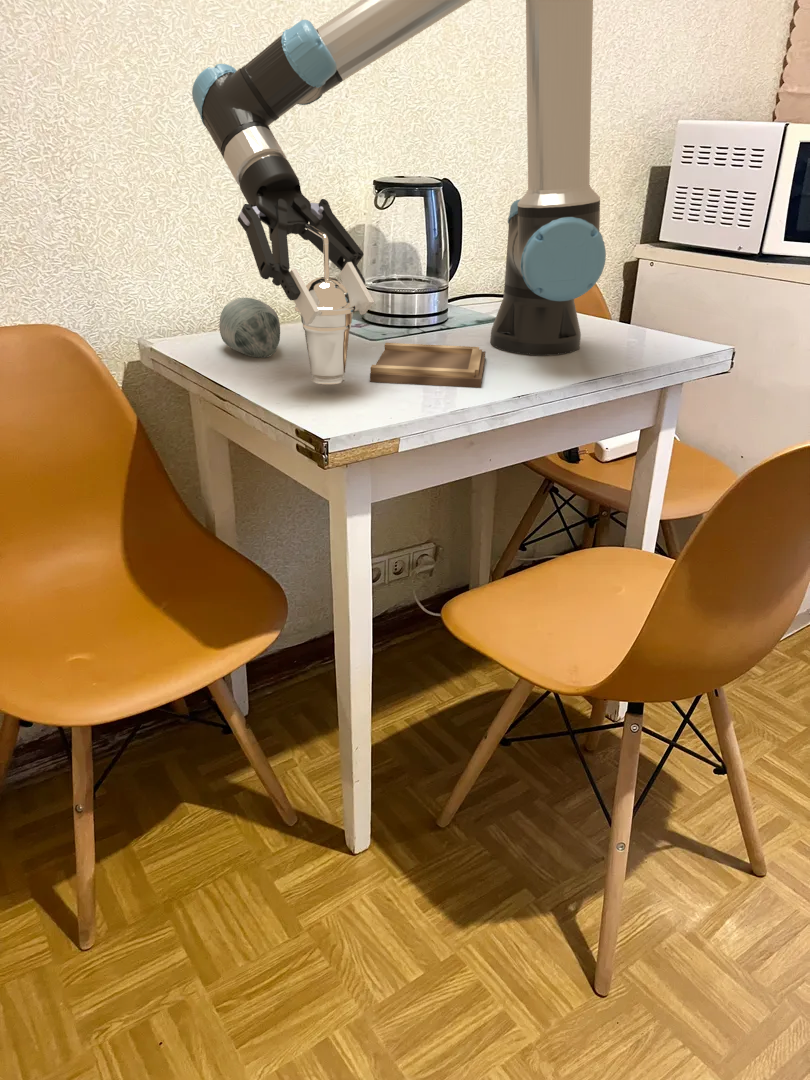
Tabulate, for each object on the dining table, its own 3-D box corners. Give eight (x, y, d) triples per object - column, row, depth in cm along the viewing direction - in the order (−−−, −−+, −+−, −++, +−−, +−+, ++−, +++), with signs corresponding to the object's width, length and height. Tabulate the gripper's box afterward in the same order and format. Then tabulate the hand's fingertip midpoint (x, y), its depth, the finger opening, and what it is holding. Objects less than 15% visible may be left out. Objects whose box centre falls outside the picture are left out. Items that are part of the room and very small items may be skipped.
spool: (299, 338, 128) (263, 280, 124) (247, 371, 126) (210, 313, 123) (285, 340, 140) (252, 287, 137) (238, 369, 139) (204, 317, 136)
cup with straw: (296, 389, 110) (290, 231, 101) (298, 371, 118) (291, 223, 109) (360, 388, 110) (359, 231, 101) (357, 370, 118) (356, 223, 109)
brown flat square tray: (485, 359, 131) (485, 346, 130) (480, 387, 117) (481, 373, 116) (386, 354, 133) (386, 341, 132) (370, 381, 119) (369, 368, 118)
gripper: (315, 190, 120) (387, 318, 117) (185, 197, 107) (263, 342, 104) (336, 151, 114) (413, 285, 111) (201, 154, 101) (285, 306, 98)
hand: (340, 312), depth 107 cm, fingers closed on cup with straw, 8 cm apart
